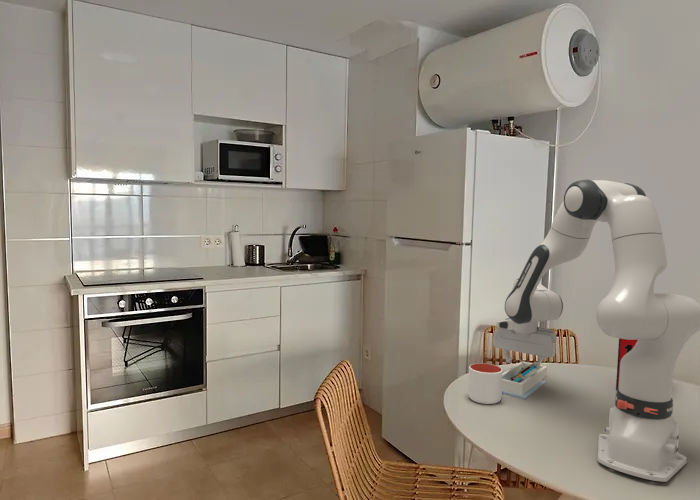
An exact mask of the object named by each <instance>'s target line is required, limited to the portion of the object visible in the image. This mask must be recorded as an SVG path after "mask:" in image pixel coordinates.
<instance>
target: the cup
mask: <svg viewBox="0 0 700 500" xmlns="http://www.w3.org/2000/svg"><path fill="white" fill-rule="evenodd" d="M503 373H504V372H503V368H502V367H500V366H498V365H495V364H491V363H479V362H478V363H477V362H476V363H473V364H470V365H469V367H468V387H467V389H468V390H467V395H468V397H469V399H470V400H471V401H473V402H475V403H478V404H483V405H495V404H497V403H500V401H501V399H502V397H503V396H502V395H503V394H502V374H503Z"/></svg>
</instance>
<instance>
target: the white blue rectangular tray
mask: <svg viewBox="0 0 700 500" xmlns="http://www.w3.org/2000/svg"><path fill="white" fill-rule="evenodd" d="M521 361H522V362H523V363H524V364H525V366H529V365H531V364H532V363H533V362H528V361H523V360H521ZM521 361H520V362H518V363H517V364H515V365H513V366H511V367H510V368H508V369H507V370H506V371H504V372H503V374H502V395H505V396H509V397H513V398H517V399H521V400H527V399H528V398H529V397H530V396H532V394H534V393H535V392H536V391H537V390H538V389H539V388H541V387H542V385H543V384H545V383H546V382H547V381H546V380H544V379H545V378H546V377H547V375H548V366H547V365H542V364H540V368H539V369H536V368H534V369H533V370H532V371H530V372H529V373H528V374H531V375H530V376H528V377H524V378H523V379H521V380H519V382H514V380H513V381H512V378H513V377H514V376H516V375H517V374H519V373H518V372H519V371H520V370H522V369H521V368H524V367H525V366H524V365H523V364H522V362H521ZM525 369H526V368H525Z"/></svg>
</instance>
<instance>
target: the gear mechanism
mask: <svg viewBox="0 0 700 500" xmlns="http://www.w3.org/2000/svg"><path fill="white" fill-rule="evenodd" d="M518 360H519V361H520V362H522V361H523V360H522V359H521V358H519V359H518ZM523 362H524V361H523ZM523 362H522V364H523V365H524V366H525V364H524V363H523ZM531 363H532V364H531V365H529V366H525V367H524V368H521V369H522V370H520V371H519V372H518V373H519V374H517V375H516V376H514V377H513V378H512V381H513V380H514V382H519V380H521V379H523V378H525V376H526V375H528V374H530V373H529V372H530V371H532V370H533V369H534V363H535V362H531ZM525 368H526V369H525Z"/></svg>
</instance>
